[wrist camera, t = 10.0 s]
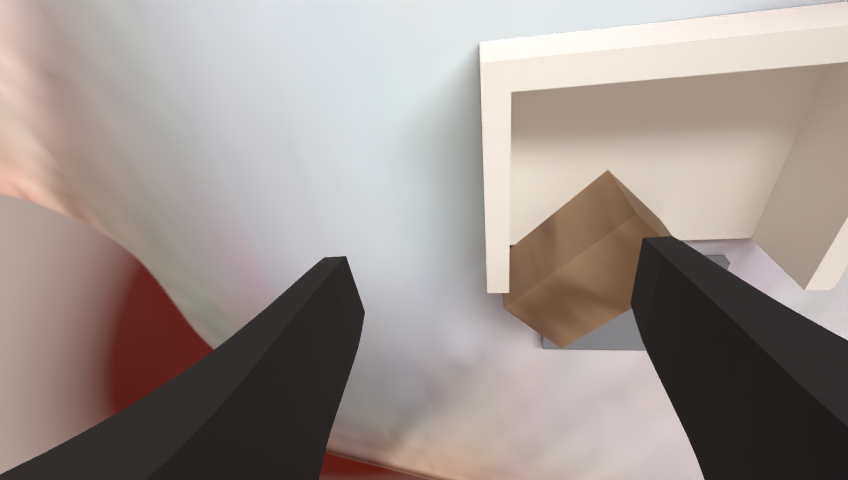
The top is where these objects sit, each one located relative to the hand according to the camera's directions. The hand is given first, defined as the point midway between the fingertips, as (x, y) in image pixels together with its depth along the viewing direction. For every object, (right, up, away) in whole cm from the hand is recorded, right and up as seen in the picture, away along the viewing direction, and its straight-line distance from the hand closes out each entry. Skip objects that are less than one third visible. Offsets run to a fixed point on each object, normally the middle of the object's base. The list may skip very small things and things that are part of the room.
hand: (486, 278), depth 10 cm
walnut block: (+8, +2, +7) cm, 11 cm away
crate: (+8, +5, +8) cm, 13 cm away
